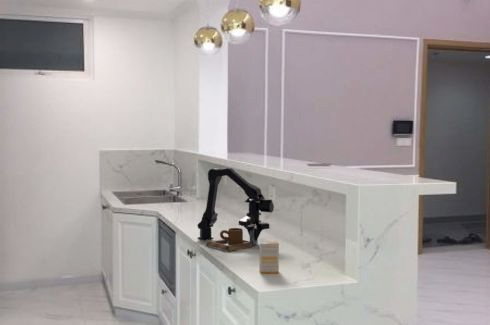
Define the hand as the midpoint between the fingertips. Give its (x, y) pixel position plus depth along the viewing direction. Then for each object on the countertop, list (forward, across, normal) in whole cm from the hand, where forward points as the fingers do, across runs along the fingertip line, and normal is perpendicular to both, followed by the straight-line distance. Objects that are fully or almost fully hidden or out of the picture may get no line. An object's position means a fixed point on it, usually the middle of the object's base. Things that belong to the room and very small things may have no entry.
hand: (253, 240), depth 299 cm
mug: (+2, -2, -14) cm, 14 cm away
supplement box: (+2, +45, -32) cm, 56 cm away
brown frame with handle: (+2, -4, -10) cm, 11 cm away
